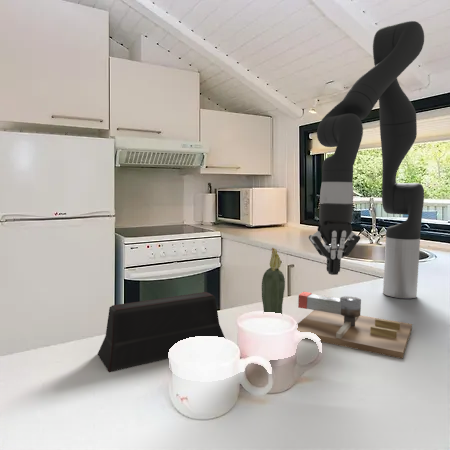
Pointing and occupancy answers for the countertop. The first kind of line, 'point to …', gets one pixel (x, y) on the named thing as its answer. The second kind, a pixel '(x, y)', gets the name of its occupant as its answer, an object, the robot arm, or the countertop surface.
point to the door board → (359, 332)
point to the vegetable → (273, 285)
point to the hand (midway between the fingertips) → (332, 274)
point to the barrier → (156, 328)
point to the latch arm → (331, 304)
